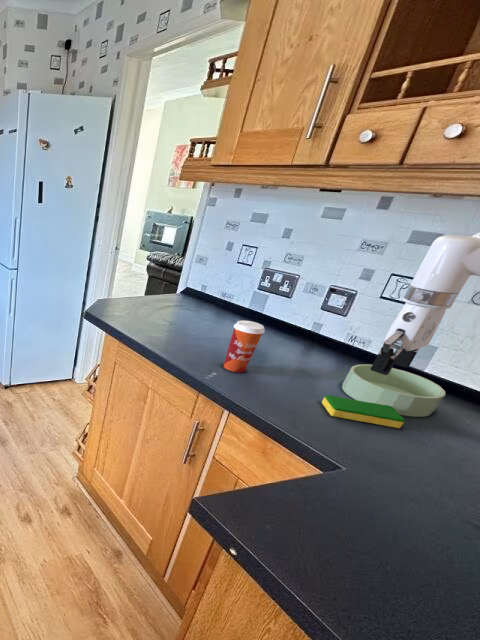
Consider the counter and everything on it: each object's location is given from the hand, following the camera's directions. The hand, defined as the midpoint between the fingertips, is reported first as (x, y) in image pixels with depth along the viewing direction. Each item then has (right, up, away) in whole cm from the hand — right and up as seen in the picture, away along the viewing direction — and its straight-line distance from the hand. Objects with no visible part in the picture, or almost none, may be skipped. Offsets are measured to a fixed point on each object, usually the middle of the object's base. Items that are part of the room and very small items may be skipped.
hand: (389, 368), depth 97 cm
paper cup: (-19, +1, +28) cm, 33 cm away
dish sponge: (-1, -12, +6) cm, 13 cm away
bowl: (+13, -7, +14) cm, 21 cm away
